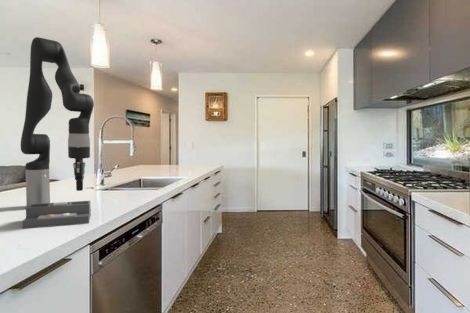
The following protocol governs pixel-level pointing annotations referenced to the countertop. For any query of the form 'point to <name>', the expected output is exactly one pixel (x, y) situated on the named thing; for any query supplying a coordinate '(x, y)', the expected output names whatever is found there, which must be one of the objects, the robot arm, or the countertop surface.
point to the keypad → (57, 214)
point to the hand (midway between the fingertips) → (79, 190)
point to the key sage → (60, 204)
